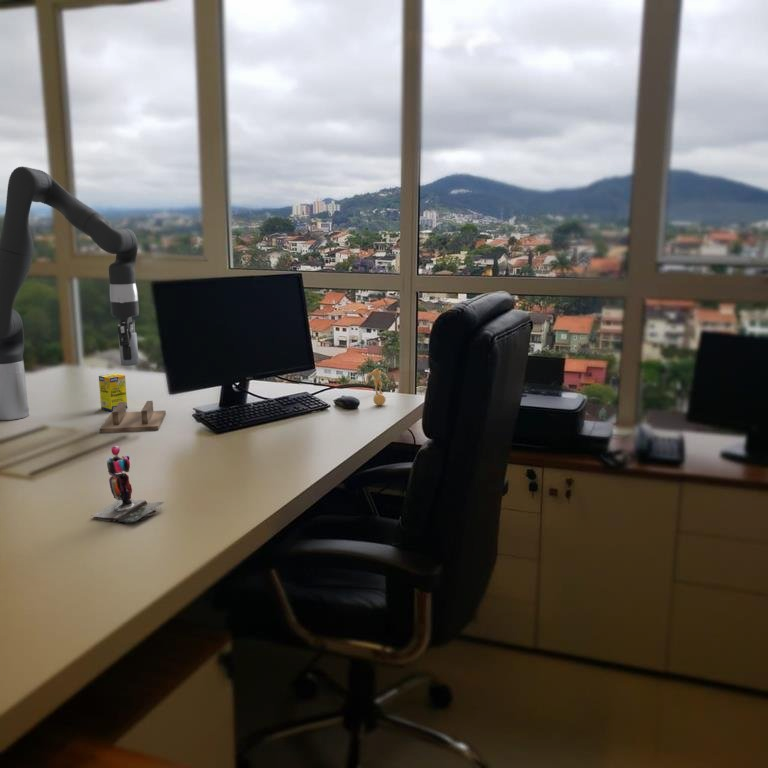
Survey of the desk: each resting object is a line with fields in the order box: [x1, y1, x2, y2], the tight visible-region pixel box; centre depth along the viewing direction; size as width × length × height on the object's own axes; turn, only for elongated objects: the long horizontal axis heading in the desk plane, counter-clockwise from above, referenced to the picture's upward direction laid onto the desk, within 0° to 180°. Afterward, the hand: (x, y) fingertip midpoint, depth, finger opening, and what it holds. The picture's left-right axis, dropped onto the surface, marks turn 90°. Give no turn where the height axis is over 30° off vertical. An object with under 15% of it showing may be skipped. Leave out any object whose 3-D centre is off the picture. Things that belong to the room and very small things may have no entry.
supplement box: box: [98, 372, 128, 413], centre depth 234 cm, size 6×6×11 cm
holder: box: [99, 400, 167, 434], centre depth 218 cm, size 16×18×5 cm
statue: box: [90, 445, 165, 525], centre depth 149 cm, size 11×9×15 cm
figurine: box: [365, 367, 391, 406], centre depth 239 cm, size 8×6×12 cm
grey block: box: [117, 332, 140, 367], centre depth 213 cm, size 5×5×9 cm
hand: (129, 357), depth 214 cm, fingers closed on grey block, 5 cm apart
